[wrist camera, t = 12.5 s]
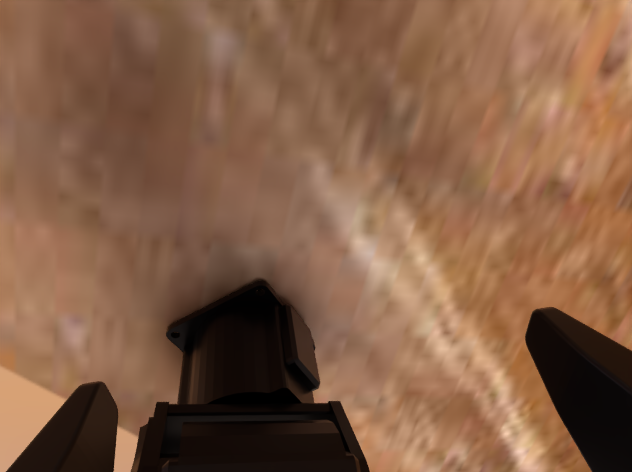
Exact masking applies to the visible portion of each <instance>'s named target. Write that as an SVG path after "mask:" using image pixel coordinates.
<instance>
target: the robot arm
mask: <svg viewBox="0 0 632 472" xmlns="http://www.w3.org/2000/svg"><path fill="white" fill-rule="evenodd" d="M258 289H263V291H257V290H258ZM174 332H179V333H174ZM166 336H167V338H168V339H169V340H170V341H171V342H172V343H173V344H175V345H176V346H177V347H178V348H179V349H180V350H181V351H182V352H183V360H182V368H181V377H180V385H179V394H178V403H177V404H169V402H157V403H156V408H155V412H154V417H149V421H148V424H146V425H145V426H143V427H141V428H140V432H139V438H138V443H137V449H136V454H135V458H134V463H133V466H132V469H131V472H370V471H369V467H368V464H367V462H366V459H365V457H364V454H363V452H362V450H361V448H360V445H359V443H358V441H357V439H356V436H355V434H354V432H353V430H352V427H351V425H350V423H349V421H348V418H347V416H346V414H345V412H344V409H343V407H342V405H341V403H340V401H329V402H328V403H314V398H313V392H312V391H314V390H316V389H318V388H319V385H320V379H319V374H318V369H317V363H316V358H315V353H314V350H315V344H314V341H313V340H312V337H311V332H310V329H309V328H308V327H307V325H306V324H305V323H304V322H303V320H302V319H301V318H300V316H299V315H298V314H297V313H296V311H295V310H294V309H293V308H292V306H291V305H288V304H284V303H283V302H282V301H281V299H280V298H279V297H278V296H277V294H276V293H275V292H274V291H273V289H272V288H271V287H270V285H269V284H268V283H267V282H265V281H256V282H254V283H252V284H250V285H248V286H246V287H244V288H242V289H240V290H238V291H236V292H234V293H232V294H230V295H228V296H226V297H224V298H222V299H220V300H218V301H216V302H214V303H212V304H210V305H208V306H206V307H204V308H202V309H200V310H198V311H197V312H195V313H193V314H191V315H189V316H187V317H185V318H183V319H181V320H179V321H177V322H175V323H173V324H171V325H169V326H168V328H167V332H166ZM525 340H526V345H527V347H528V350H529V352H530V354H531V356H532V358H533V361H534V363H535V365H536V367H537V369H538V372H539V374H540V376H541V378H542V380H543V383H544V385H545V387H546V389H547V391H548V394H549V396H550V398H551V400H552V402H553V404H554V406H555V408H556V410H557V412H558V414H559V416H560V418H561V419H562V421H563V423H564V425H565V426H566V428H567V430H568V431H569V433H570V435H571V437H572V438H573V440H574V442H575V443H576V445H577V447H578V449H579V450H580V452H581V454H582V455H583V457H584V459H585V460H586V462H587V464H588V466H589V467H590V469H591V471H592V472H632V351H631V350H629V349H627V348H626V347H624V346H622V345H620V344H619V343H617V342H615V341H613V340H612V339H610V338H608V337H606V336H604V335H603V334H601V333H599V332H597V331H596V330H594V329H592V328H590V327H589V326H587V325H585V324H583V323H581V322H580V321H578V320H576V319H574V318H573V317H571V316H569V315H567V314H566V313H564V312H562V311H560V310H558V309H556V308H554V307H546V308H540V309H536V310H534V311H533V312H532V314H531V317H530V321H529V324H528V328H527V331H526V335H525ZM117 424H118V409H117V405H116V403H115V401H114V399H113V398H112V396H111V394H110V392H109V390H108V388H107V387H106V385H105V383H103V382H101V381H98V382H92V383H86V384H82V385H80V386H79V387H78V388H77V389H76V390H75V391H74V392H73V393H72V395H71V396H70V397H69V398H68V399H67V400H66V402H65V403H64V404H63V405H62V406H61V408H60V409H59V410H58V411H57V412H56V414H55V415H54V416H53V417H52V418H51V419H50V420H49V422H48V423H47V424H46V425H45V426H44V428H43V429H42V430H41V431H40V432H39V433H38V435H37V436H36V437H35V438H34V439H33V441H32V442H31V443H30V444H29V445H28V446H27V447H26V449H25V450H24V451H23V452H22V453H21V455H20V456H19V457H18V458H17V459H16V460H15V462H14V463H13V464H12V465H11V466H10V467H9V469H8V470H7V471H6V472H113V471H114V459H115V447H116V435H117Z"/></svg>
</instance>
